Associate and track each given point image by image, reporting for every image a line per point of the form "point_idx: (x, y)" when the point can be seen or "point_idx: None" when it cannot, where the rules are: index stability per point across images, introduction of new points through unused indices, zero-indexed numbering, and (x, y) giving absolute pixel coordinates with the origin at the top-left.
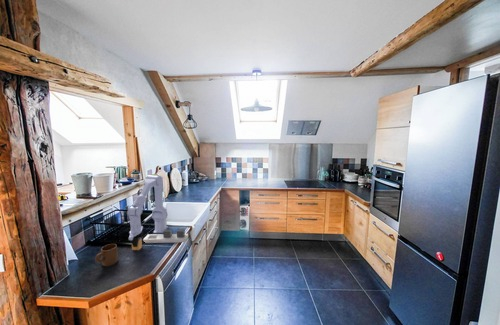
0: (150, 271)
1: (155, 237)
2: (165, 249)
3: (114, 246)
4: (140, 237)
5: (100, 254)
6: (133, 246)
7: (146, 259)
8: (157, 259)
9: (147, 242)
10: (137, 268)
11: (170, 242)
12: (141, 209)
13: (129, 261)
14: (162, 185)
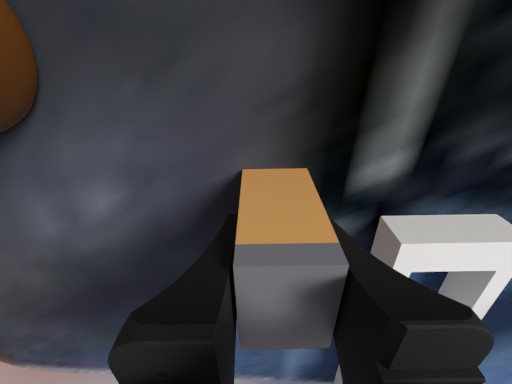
0: (29, 363)
1: (450, 287)
2: (251, 365)
3: None
4: (310, 344)
5: None
6: (226, 220)
7: (124, 318)
8: None
9: (372, 253)
10: (17, 308)
11: (338, 367)
12: None
13: (61, 232)
14: None
